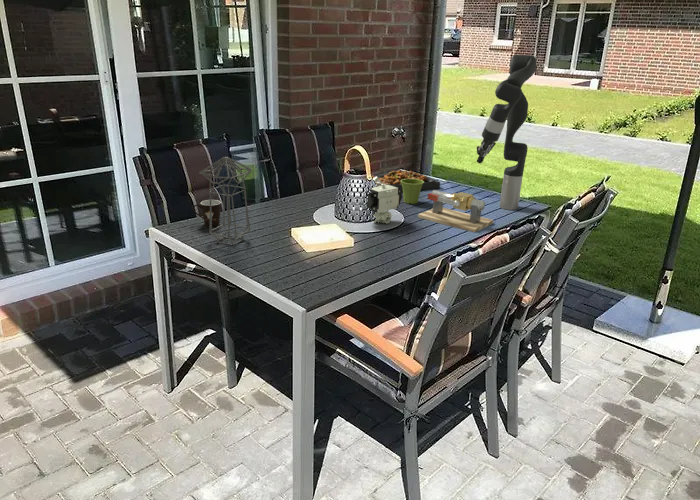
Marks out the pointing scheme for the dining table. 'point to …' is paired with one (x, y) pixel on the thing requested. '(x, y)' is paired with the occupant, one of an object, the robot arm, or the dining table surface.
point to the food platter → (396, 177)
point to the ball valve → (384, 201)
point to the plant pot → (411, 190)
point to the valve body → (461, 204)
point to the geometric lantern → (227, 195)
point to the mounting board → (455, 219)
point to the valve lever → (443, 200)
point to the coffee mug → (206, 212)
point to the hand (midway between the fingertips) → (479, 162)
